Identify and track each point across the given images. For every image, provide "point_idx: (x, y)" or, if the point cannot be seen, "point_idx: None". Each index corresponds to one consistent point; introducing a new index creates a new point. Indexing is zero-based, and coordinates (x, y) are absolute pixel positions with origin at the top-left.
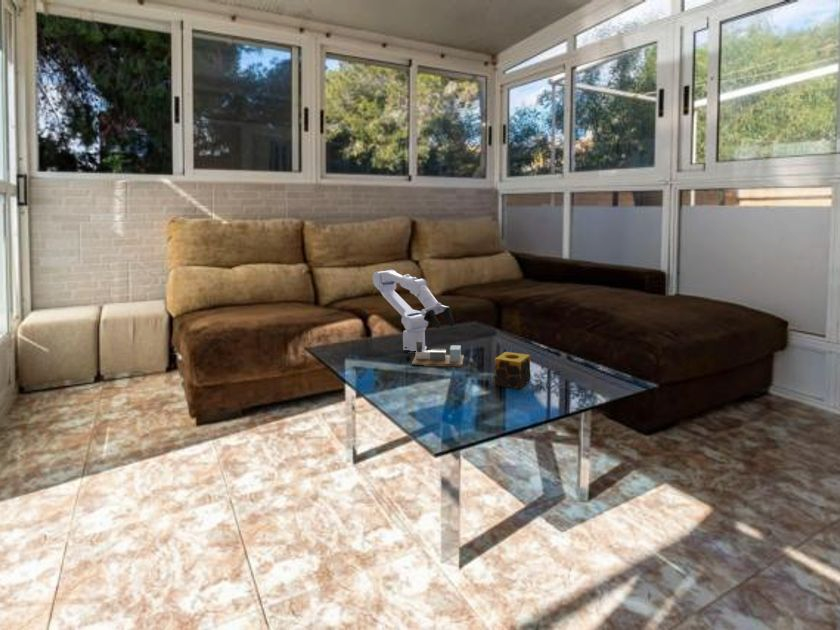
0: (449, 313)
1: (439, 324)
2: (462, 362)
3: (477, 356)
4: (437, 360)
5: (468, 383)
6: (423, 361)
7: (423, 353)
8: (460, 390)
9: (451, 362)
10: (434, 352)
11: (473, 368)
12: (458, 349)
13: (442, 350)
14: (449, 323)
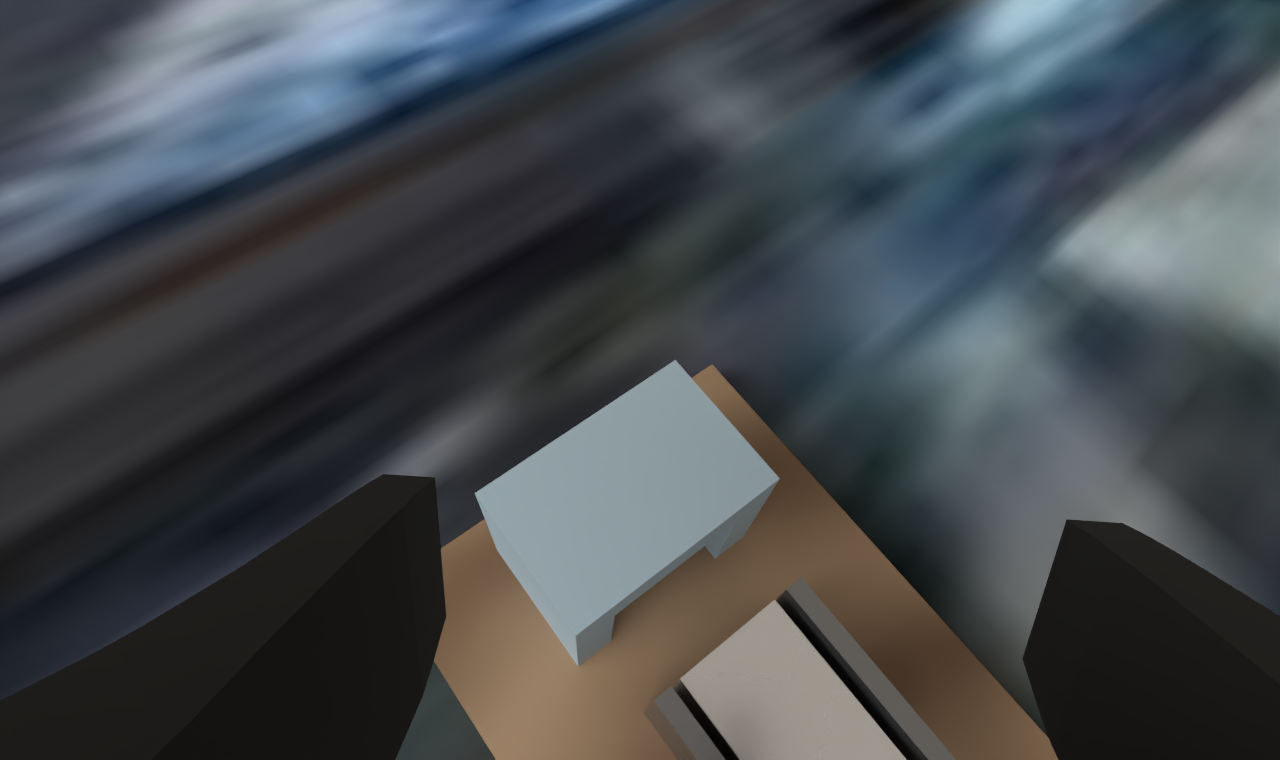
0: (116, 749)
1: (1133, 533)
2: None
3: (255, 481)
4: None
5: (994, 91)
6: None
7: None
8: (1138, 59)
9: None
10: (926, 727)
11: (673, 261)
12: (683, 380)
13: (724, 722)
14: (396, 712)
